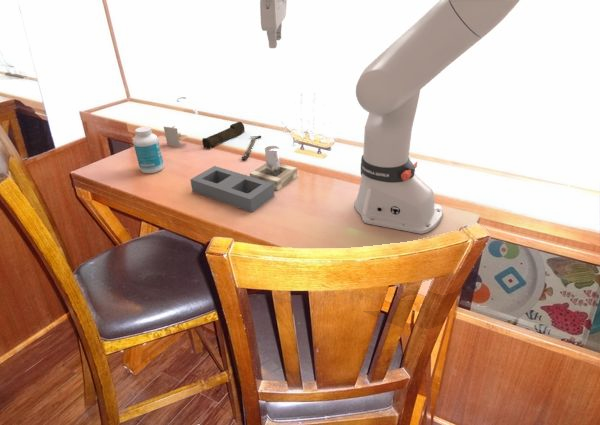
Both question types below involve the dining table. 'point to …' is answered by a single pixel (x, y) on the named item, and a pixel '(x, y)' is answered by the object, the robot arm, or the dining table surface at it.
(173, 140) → the architectural model
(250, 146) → the tomahawk
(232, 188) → the block
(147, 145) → the pill bottle
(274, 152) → the metal peg
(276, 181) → the socket block
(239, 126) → the dark brown bar
